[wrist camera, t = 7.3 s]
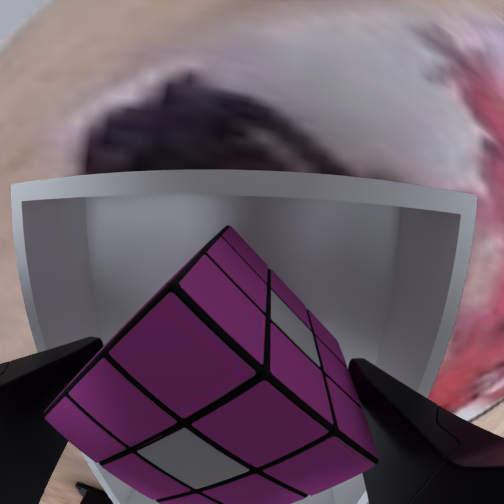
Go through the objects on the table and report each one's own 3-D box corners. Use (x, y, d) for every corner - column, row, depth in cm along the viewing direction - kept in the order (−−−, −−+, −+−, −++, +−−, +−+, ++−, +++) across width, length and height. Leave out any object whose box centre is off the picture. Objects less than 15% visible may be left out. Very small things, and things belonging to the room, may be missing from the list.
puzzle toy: (227, 414, 11) (204, 527, 6) (125, 323, 10) (39, 416, 5) (338, 340, 10) (382, 463, 5) (228, 222, 9) (170, 280, 4)
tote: (336, 481, 15) (344, 531, 11) (137, 465, 16) (118, 509, 11) (411, 188, 11) (477, 195, 6) (81, 179, 11) (11, 184, 7)
